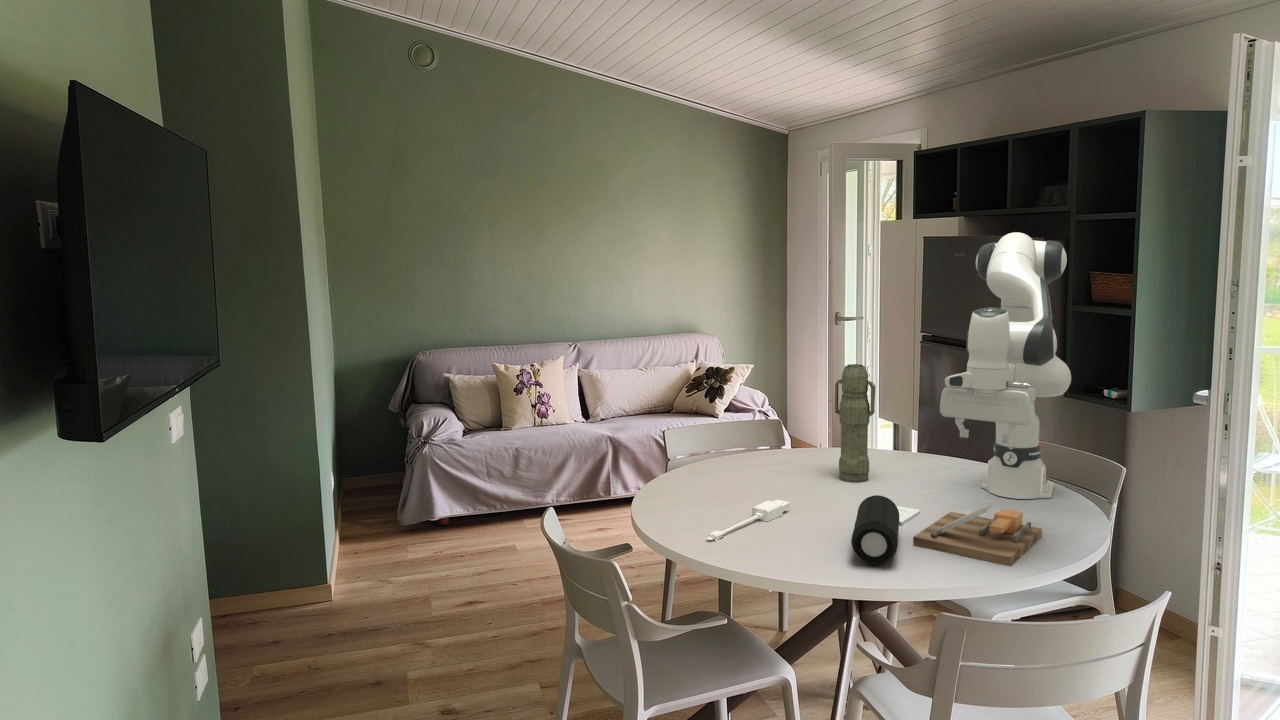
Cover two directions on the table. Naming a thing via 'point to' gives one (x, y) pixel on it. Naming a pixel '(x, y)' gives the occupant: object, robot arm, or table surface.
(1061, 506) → the table surface
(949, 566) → the table surface
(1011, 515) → the bolt
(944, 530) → the grey flat bar
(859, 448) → the thermos
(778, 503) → the charging cable
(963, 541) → the base
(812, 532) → the table surface
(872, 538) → the portable speaker
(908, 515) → the external hard drive
